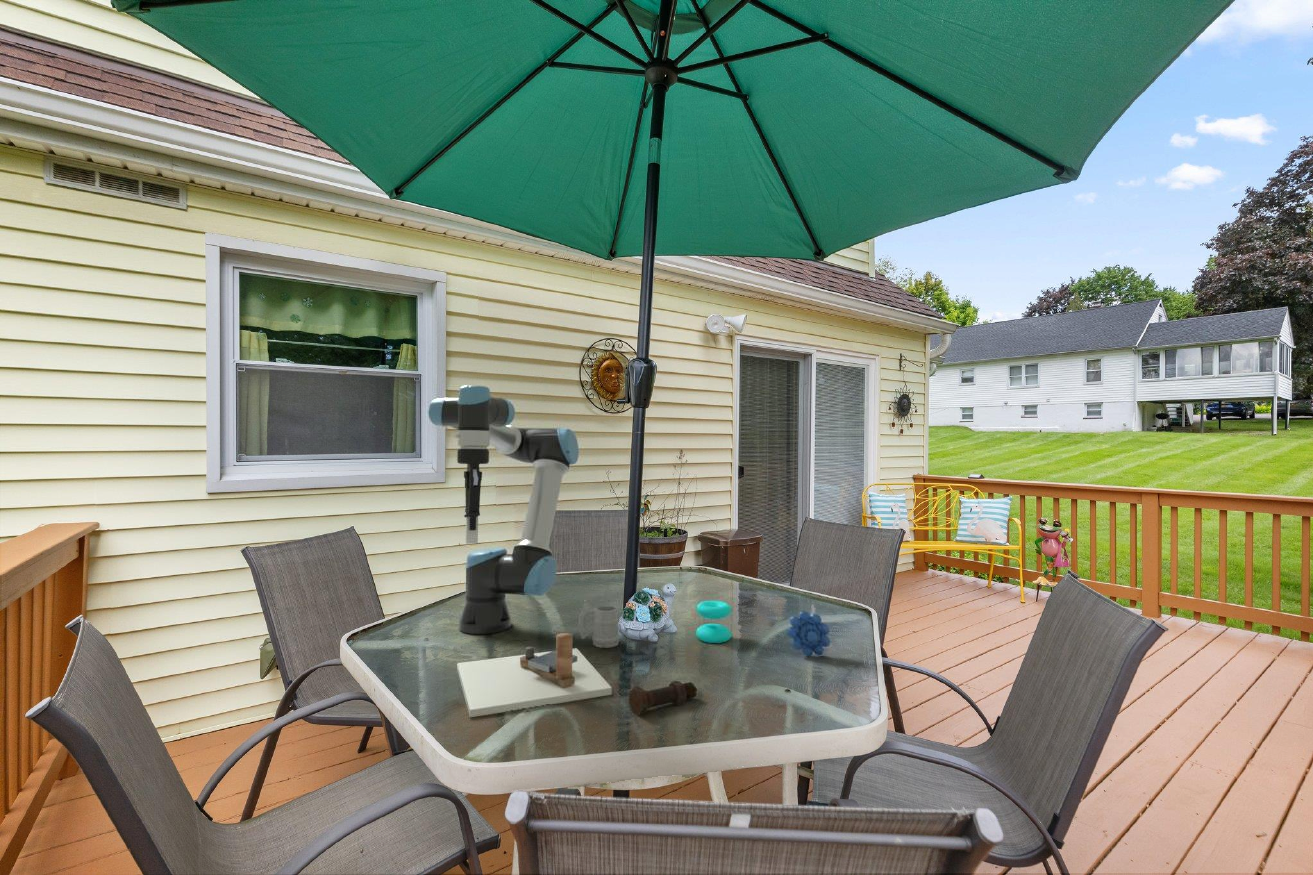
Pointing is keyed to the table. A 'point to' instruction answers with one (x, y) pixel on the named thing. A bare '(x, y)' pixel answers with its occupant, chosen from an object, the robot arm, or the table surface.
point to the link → (563, 661)
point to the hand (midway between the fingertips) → (471, 542)
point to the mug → (600, 625)
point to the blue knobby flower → (808, 633)
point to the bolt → (660, 696)
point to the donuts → (713, 631)
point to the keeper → (547, 661)
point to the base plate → (523, 685)
